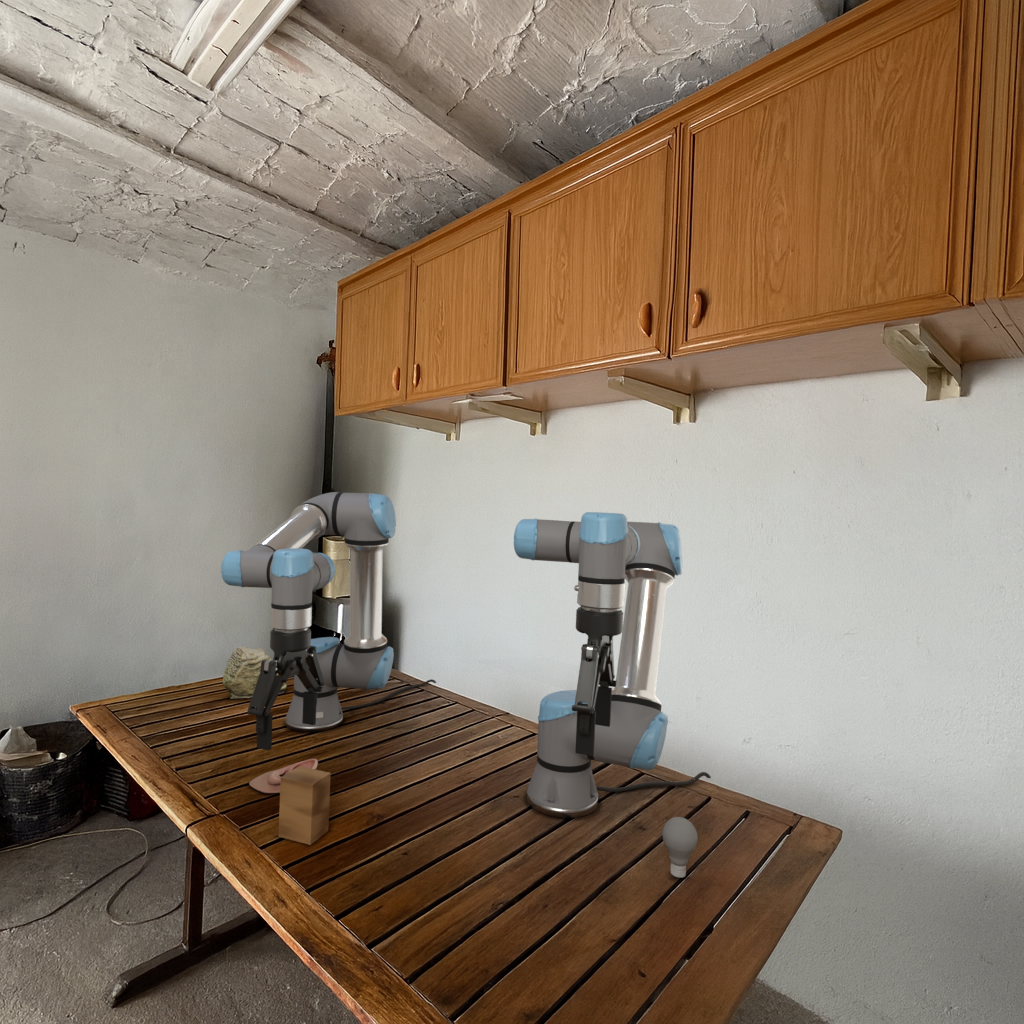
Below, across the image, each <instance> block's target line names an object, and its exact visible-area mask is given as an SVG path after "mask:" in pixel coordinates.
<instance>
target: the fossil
mask: <svg viewBox="0 0 1024 1024" xmlns="http://www.w3.org/2000/svg"><path fill="white" fill-rule="evenodd" d="M262 660H273V658H271V657H270V656H269V655H268V654H267V653H266V652H265V650H264V649H263V648H260V647H258V648H251V647H247V646H246V647H245V646H238V647H237V648H236V649H235V650H233V651H232V653H231V656H230V657H229V659H228V660H227V663H226V666H225V668H224V671H223V675H222V676H223V677H222V685H223V687H224V688H225V690H226V691H228V693H229V698H230V699H252V696H253V693H254V690H255V687H256V684H257V681H258V678H259V675H260V670H261V662H262ZM277 676H279V675H278V673H277ZM287 687H288V686H287V682H285V683H284V684H283V686H282V688H281V690H280V692H279V694H278V695H281V694H284V693H285V691H286V689H287Z"/></svg>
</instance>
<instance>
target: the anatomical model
mask: <svg viewBox="0 0 1024 1024" xmlns="http://www.w3.org/2000/svg"><path fill="white" fill-rule="evenodd" d="M318 764H319V761H318V759H317V758H309V759H305V760H302V761H299V762H296V763H293V764H290V765H289V764H288V765H287V766H284V767H281V768H279V769H274V770H271V771H268V772H265V773H263V774H260V775H258V776H256V777H254V778H252V779H251V780H250V781H249V783H248V784H249V785H248V786H250V787H251V788H253V789H254V790H256V791H258V792H261V793H264V794H280V782H281V777H282V776H284V775H285V774H287V773H289V772H290V771H292V770H294V769H296V768H297V767H299V766H302V767H306V768H311V769H315V770H317V768H318Z"/></svg>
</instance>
